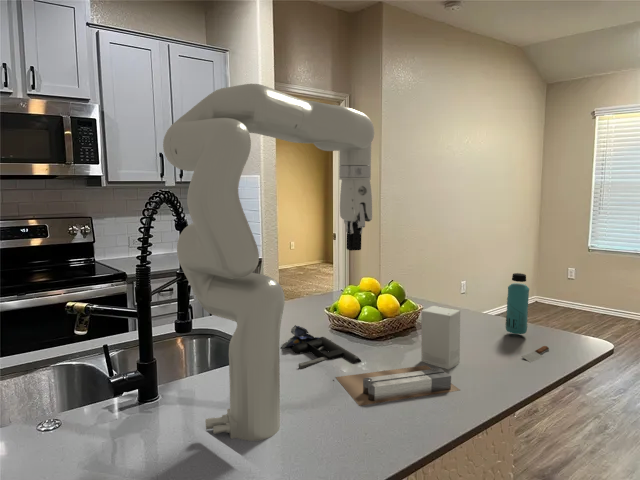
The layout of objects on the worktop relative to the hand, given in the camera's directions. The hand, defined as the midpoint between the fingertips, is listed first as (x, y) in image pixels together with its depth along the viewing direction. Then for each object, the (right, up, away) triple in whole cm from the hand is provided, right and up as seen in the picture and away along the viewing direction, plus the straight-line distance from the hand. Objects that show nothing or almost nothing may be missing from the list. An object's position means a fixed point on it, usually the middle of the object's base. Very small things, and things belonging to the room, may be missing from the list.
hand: (353, 249), depth 114 cm
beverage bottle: (+54, -28, +35) cm, 70 cm away
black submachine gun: (-8, -31, +15) cm, 35 cm away
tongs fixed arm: (+12, -32, -9) cm, 35 cm away
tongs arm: (+11, -32, -6) cm, 34 cm away
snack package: (-14, -29, +27) cm, 42 cm away
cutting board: (+10, -33, -4) cm, 34 cm away
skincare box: (+23, -31, +10) cm, 40 cm away
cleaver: (+54, -31, +18) cm, 64 cm away
